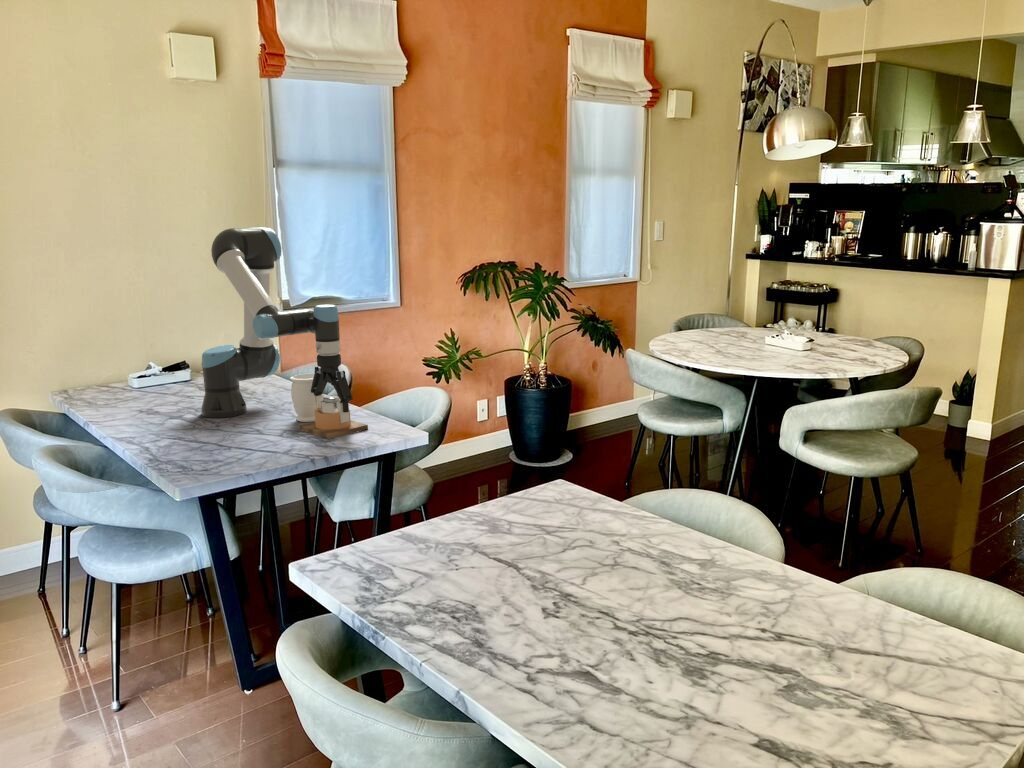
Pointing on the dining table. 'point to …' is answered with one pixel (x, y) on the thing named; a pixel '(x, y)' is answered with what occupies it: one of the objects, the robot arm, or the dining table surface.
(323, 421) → the ring
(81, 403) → the dining table surface
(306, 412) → the jar
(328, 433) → the wooden board
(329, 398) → the frosted glass cylinder
